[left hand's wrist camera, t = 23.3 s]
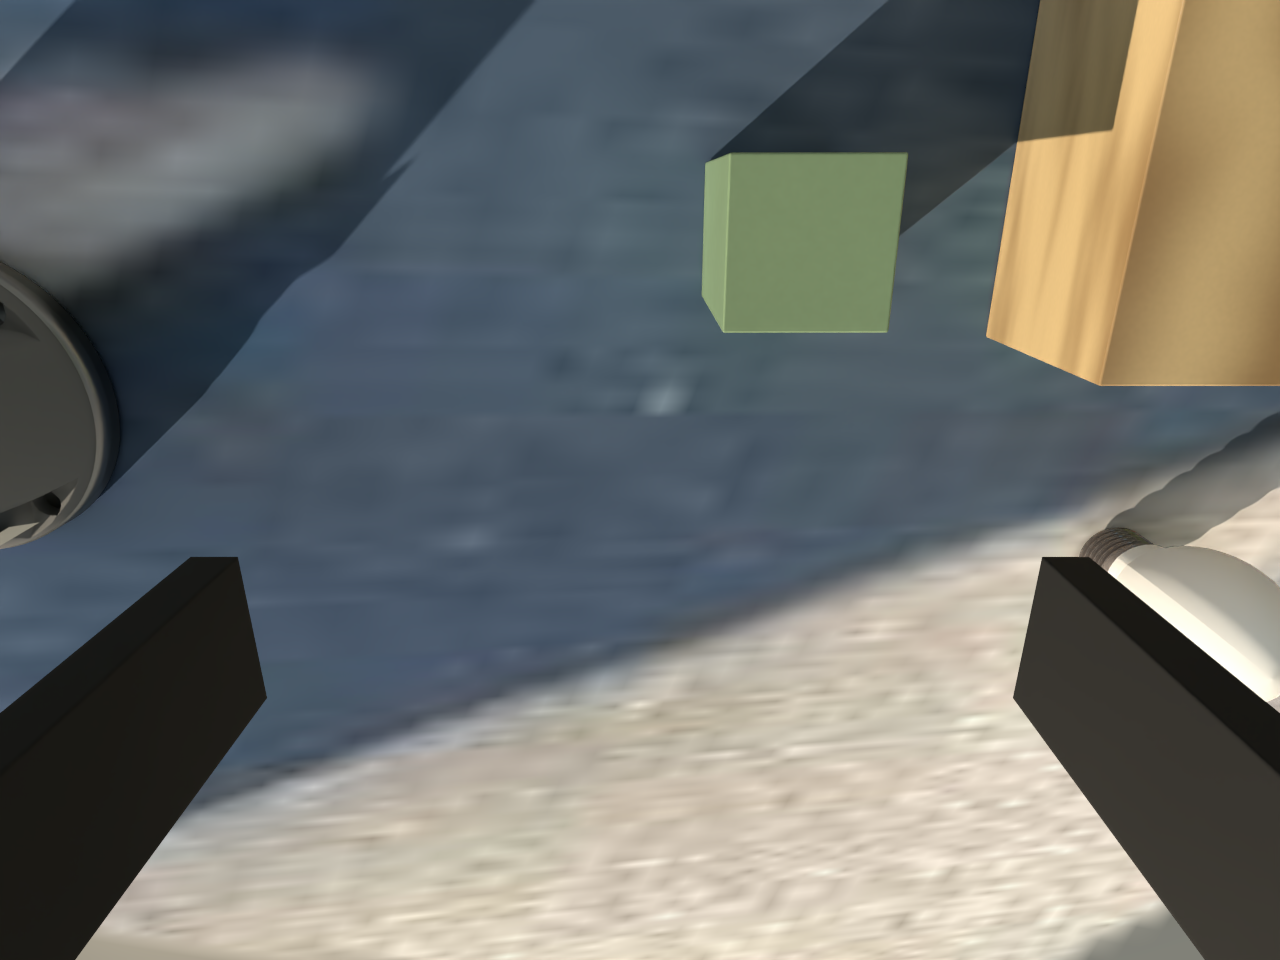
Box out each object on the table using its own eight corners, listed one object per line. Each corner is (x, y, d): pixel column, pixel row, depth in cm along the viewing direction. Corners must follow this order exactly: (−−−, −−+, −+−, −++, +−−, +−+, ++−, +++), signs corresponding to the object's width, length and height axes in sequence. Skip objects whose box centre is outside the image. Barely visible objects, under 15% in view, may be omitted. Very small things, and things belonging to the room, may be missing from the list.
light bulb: (1027, 568, 42) (1153, 691, 32) (1124, 477, 40) (1291, 576, 30) (1109, 633, 43) (1254, 771, 33) (1206, 548, 42) (1392, 665, 31)
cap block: (701, 296, 37) (722, 332, 28) (705, 162, 35) (729, 152, 26) (825, 296, 37) (888, 332, 28) (837, 161, 35) (909, 152, 26)
